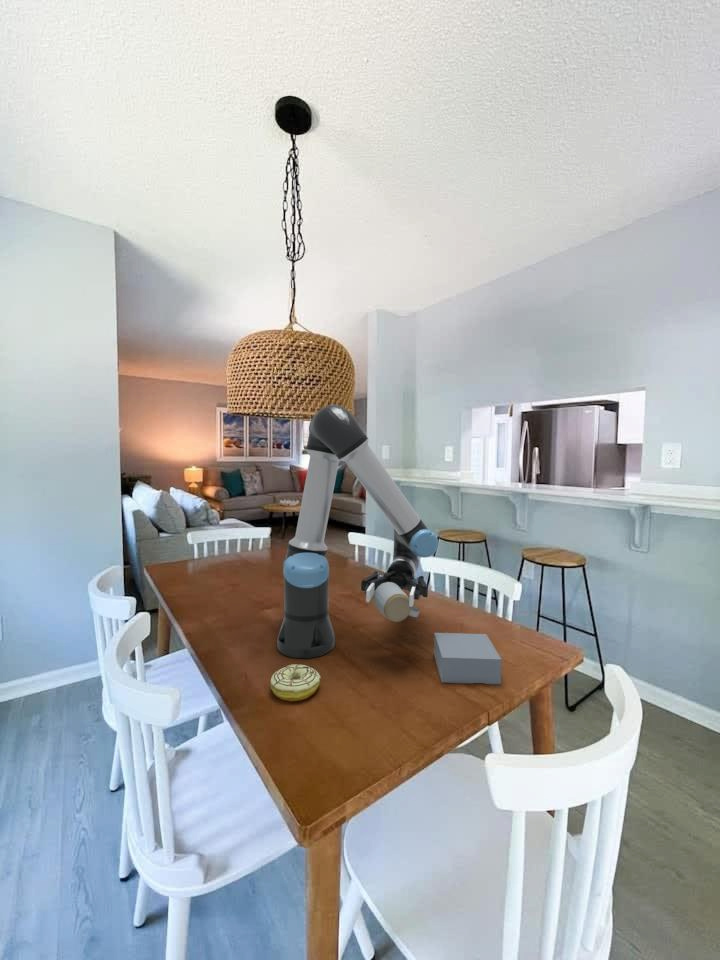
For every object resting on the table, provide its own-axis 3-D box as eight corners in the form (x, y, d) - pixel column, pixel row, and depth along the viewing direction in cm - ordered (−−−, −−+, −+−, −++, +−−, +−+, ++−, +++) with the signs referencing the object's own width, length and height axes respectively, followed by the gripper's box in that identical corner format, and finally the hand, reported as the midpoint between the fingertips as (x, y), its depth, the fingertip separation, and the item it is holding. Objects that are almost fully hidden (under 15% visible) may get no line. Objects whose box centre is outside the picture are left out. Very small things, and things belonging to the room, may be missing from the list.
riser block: (441, 683, 92) (442, 657, 92) (434, 655, 105) (434, 632, 105) (500, 685, 92) (501, 659, 91) (485, 657, 105) (486, 634, 104)
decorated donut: (323, 677, 94) (323, 661, 94) (316, 705, 83) (316, 687, 83) (278, 675, 95) (278, 659, 94) (265, 703, 84) (265, 685, 84)
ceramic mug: (383, 625, 96) (385, 592, 95) (372, 612, 103) (373, 582, 103) (425, 621, 99) (426, 590, 98) (411, 609, 107) (412, 580, 106)
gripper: (440, 589, 116) (436, 619, 94) (363, 582, 121) (342, 609, 99) (441, 563, 115) (437, 587, 94) (363, 557, 120) (343, 578, 99)
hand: (389, 598), depth 96 cm, fingers closed on ceramic mug, 9 cm apart
